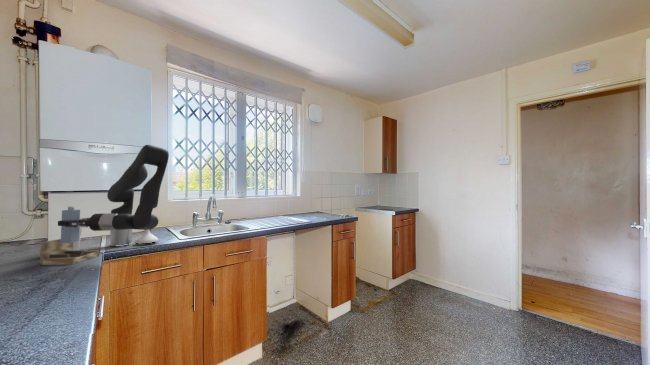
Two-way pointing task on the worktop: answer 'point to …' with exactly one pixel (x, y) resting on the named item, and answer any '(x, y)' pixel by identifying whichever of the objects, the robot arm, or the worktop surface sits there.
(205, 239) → the worktop surface
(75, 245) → the drinking glass
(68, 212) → the blue square bottle
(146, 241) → the flower in vase
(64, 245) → the box
